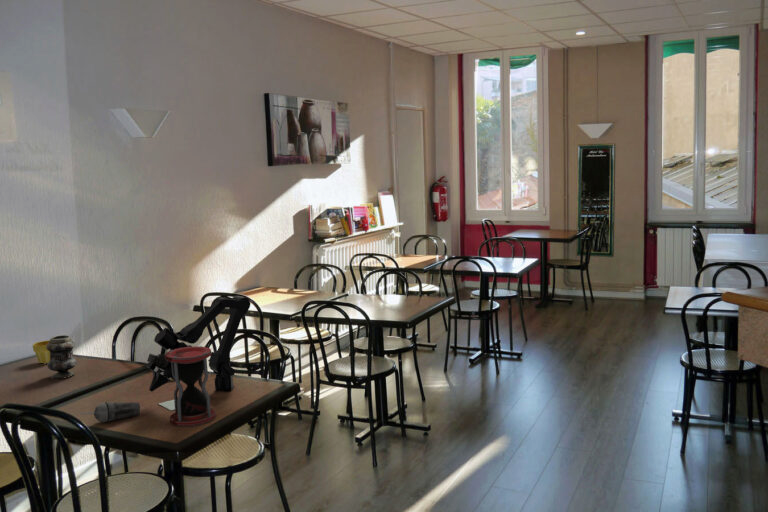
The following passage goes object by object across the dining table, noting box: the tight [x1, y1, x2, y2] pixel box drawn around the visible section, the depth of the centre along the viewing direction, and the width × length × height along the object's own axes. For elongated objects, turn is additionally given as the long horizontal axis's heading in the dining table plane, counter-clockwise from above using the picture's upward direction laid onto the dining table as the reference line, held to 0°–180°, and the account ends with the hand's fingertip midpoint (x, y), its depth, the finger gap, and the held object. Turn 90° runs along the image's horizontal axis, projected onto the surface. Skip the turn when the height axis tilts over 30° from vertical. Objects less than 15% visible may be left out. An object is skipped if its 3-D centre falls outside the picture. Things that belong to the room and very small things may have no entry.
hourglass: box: [164, 346, 217, 427], centre depth 258 cm, size 16×16×25 cm
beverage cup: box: [80, 401, 141, 423], centre depth 260 cm, size 7×7×20 cm
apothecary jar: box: [46, 334, 78, 379], centre depth 321 cm, size 12×12×18 cm
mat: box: [158, 399, 175, 411], centre depth 277 cm, size 11×11×1 cm
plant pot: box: [32, 339, 50, 364], centre depth 346 cm, size 10×10×10 cm
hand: (150, 390), depth 272 cm, fingers closed
